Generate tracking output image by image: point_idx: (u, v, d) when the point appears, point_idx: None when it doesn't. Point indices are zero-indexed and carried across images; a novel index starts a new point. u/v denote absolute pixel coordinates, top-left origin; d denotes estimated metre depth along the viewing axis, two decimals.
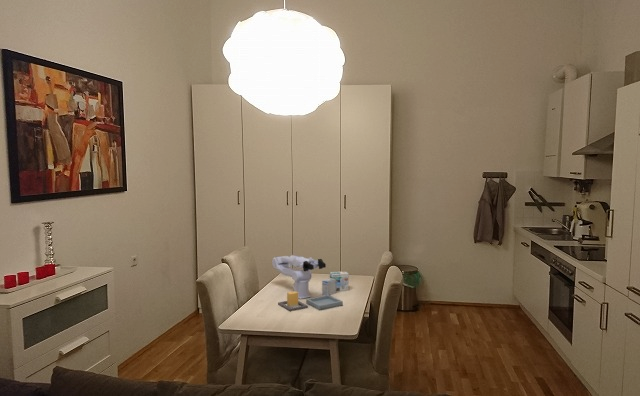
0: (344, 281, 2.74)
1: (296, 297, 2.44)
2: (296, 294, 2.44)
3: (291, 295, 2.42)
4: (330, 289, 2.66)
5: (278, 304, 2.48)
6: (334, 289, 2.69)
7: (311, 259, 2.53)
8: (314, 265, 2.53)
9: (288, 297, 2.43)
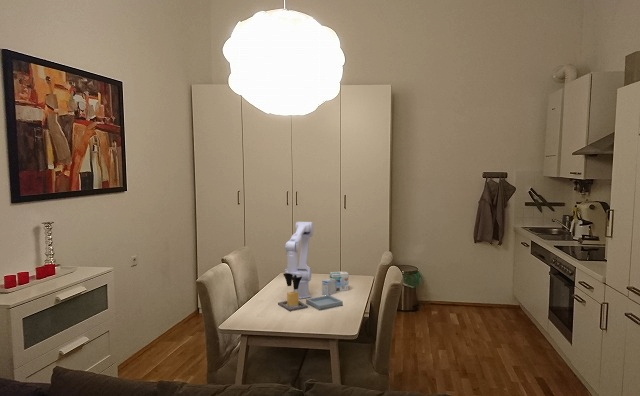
0: (344, 281, 2.74)
1: (296, 297, 2.44)
2: (296, 294, 2.44)
3: (291, 295, 2.42)
4: (330, 289, 2.66)
5: (278, 304, 2.48)
6: (334, 289, 2.69)
7: None
8: None
9: (288, 297, 2.43)
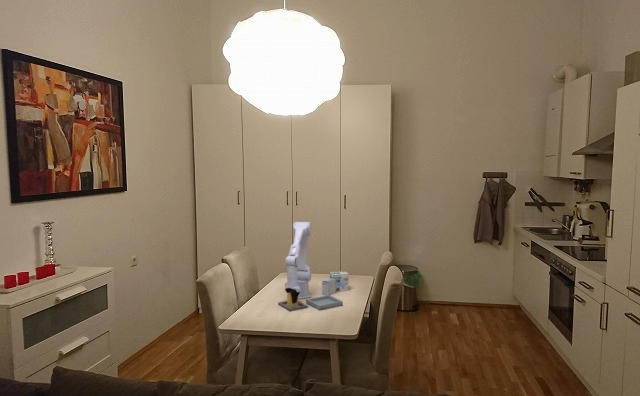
0: (344, 281, 2.74)
1: None
2: None
3: None
4: (330, 289, 2.66)
5: (278, 304, 2.48)
6: (334, 289, 2.69)
7: None
8: None
9: (288, 297, 2.43)
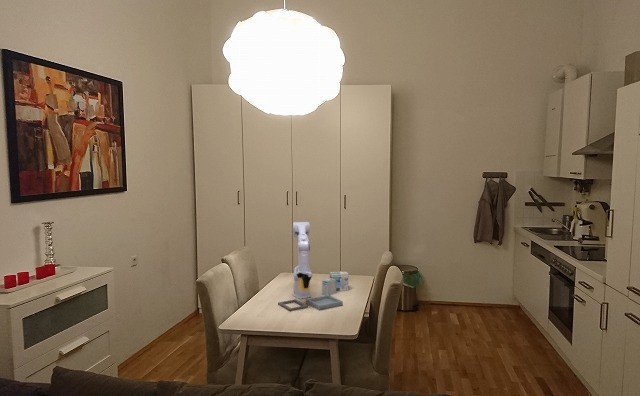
0: (344, 281, 2.74)
1: None
2: None
3: (302, 280, 2.42)
4: (330, 289, 2.66)
5: (278, 304, 2.48)
6: (334, 289, 2.69)
7: None
8: None
9: (299, 282, 2.44)
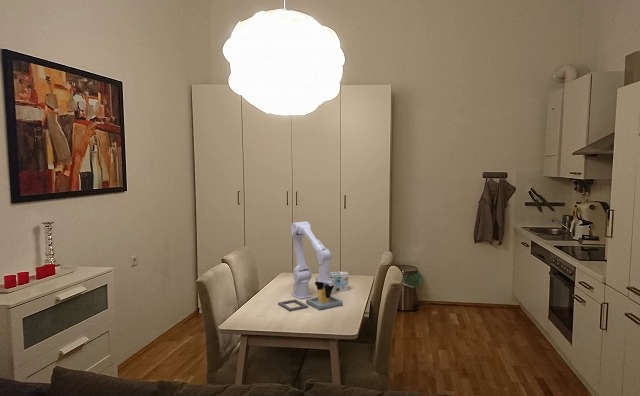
0: (344, 281, 2.74)
1: None
2: None
3: (322, 292, 2.44)
4: None
5: (278, 304, 2.48)
6: (334, 289, 2.69)
7: None
8: None
9: (319, 294, 2.46)
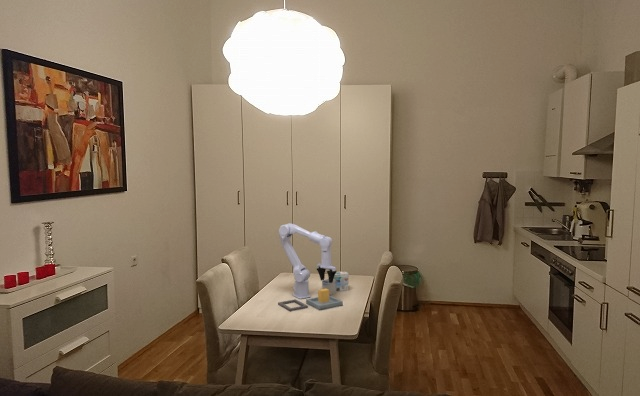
0: (344, 281, 2.74)
1: (327, 294, 2.46)
2: (327, 291, 2.46)
3: (322, 292, 2.44)
4: (330, 289, 2.66)
5: (278, 304, 2.48)
6: (334, 289, 2.69)
7: (322, 267, 2.54)
8: None
9: (319, 294, 2.46)
